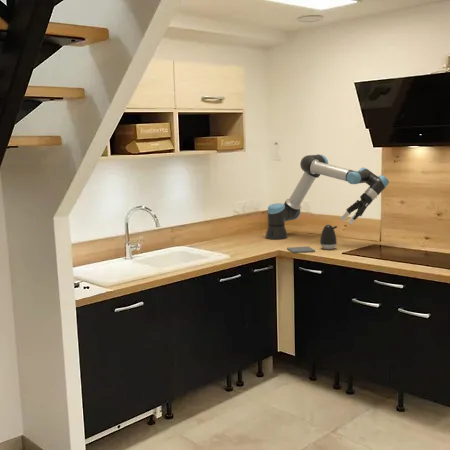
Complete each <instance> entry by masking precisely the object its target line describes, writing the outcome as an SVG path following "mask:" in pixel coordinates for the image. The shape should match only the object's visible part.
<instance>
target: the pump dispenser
mask: <svg viewBox="0 0 450 450" xmlns="http://www.w3.org/2000/svg"><path fill="white" fill-rule="evenodd" d="M337 228H338V226H337V225H335V226H332V225H331V224H326V225H324V227H323V228H322V231H321V234H320V239H319V244H320V247H321V248H322V249H323V250H327V251H328V250H331V251H332V250H334V249H335V248H336V246H337V244H338V241H337V234H336V231H335V229H337Z"/></svg>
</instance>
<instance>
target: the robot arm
mask: <svg viewBox="0 0 450 450" xmlns="http://www.w3.org/2000/svg"><path fill="white" fill-rule="evenodd" d="M299 165H300V169H301V170H302V171H303V172H304V173H303V174H302V175H301V177H300V180H299V181H298V183H297V184H296V186H295V188H294V190H293V192H292V193H291V195H290V197H289V198H287V199H286V200H285V201H284V203H282V202H281V203H280V202H279V203H272V204H270V205H268V206H267V230H266V232H265V239H268V240H283V239H287V238H288V232H287V228H286V227H285V225H286V224H285V223H286V222H288V221H294V220H296V219H298V218H299V217H300V214H301V208H302V206H301V204H302V202H303V201H304V199H305V197H306V195H307V194H308V191H310V189H311V186H312V185H313V183H314V182H315V180H316V179H317V178H318V179H319V177H320V176H321V175H322V176H325V177H329V178H332V179H337V180H340V181H344V182H348V183H349V185H358V184H366V185H368V188H366V190H365V191H364V192H363V193H362V194H361V195H360V196H359V197H360V200H359V199H357V200H356V201H355V202H354V203H352V204H351V205H350V206H349V207H347V208H346V209H345V210H346V211H345V212H344V213H343V215H341V217H340V218H339V219H340V220H341V222H344V221H345V220H346V219H347V218H348V217H349V216H350V215H351V214H352V212H354V211H356V212H355V213H354V214H353V215H352V216H351V217H350V218H349V219H348V220H347V223H348V224H349V225H352V224H353V223H355V221H356V220H357V219H358V217H362V216H363V214H364V212H365V211H366V209H367V208H368V206H370V205H371V204H372V202H373V201H374V200H375V199H377V197H378V196H379V195H380V194H381V193H382V192H383V191H384V190H385V189H386V187H387V186H388V185H389V184H390V181H389V178H387V177H386V176H385V175H382V174H380V175H379V176H378V175H376V174H375V173H373V172H372V171H371V170H369V169H368V168H366V167H364V166H363V167H360V168H359V169H358V170H357V171H356V170H352V169H349V168H346V167H345V168H344V167H340V166H336V165H333V164H329V159H328V158H327V157H326V156H325V155H324V154H310V155H307V154H306V155H305V156H303V157H302V158H301V160H300V164H299Z"/></svg>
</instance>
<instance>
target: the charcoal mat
mask: <svg viewBox="0 0 450 450" xmlns="http://www.w3.org/2000/svg"><path fill="white" fill-rule="evenodd" d="M286 250H287V251H289V252H290V253H291V254H300V253H301V254H303V253H304V254H305V253H315V252H316V250H315V249H314V248H312V247H310V246H299V247H297V246H294V247H287V249H286Z"/></svg>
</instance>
